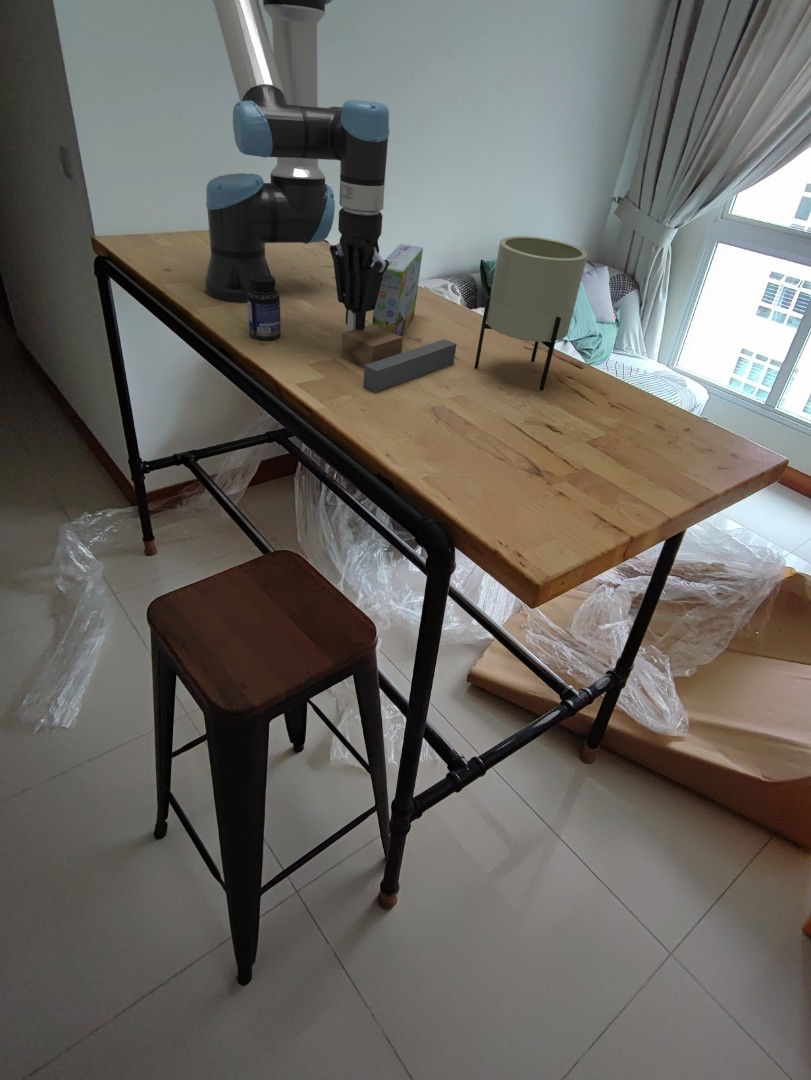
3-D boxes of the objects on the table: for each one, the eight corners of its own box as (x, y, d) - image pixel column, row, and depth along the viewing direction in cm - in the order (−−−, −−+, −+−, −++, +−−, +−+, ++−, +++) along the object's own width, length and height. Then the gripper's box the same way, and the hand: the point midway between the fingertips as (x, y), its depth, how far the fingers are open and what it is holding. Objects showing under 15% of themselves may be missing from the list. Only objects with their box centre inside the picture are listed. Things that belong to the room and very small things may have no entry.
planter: (508, 395, 117) (537, 262, 103) (463, 361, 127) (483, 236, 113) (573, 386, 123) (608, 259, 109) (525, 354, 134) (551, 235, 120)
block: (341, 358, 123) (342, 332, 120) (370, 349, 128) (372, 324, 125) (371, 372, 119) (373, 346, 116) (400, 362, 124) (402, 337, 121)
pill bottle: (286, 334, 129) (286, 277, 122) (269, 343, 125) (267, 285, 118) (261, 327, 131) (258, 271, 124) (242, 336, 126) (239, 277, 120)
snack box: (396, 349, 129) (403, 270, 120) (369, 344, 130) (374, 266, 120) (416, 316, 146) (424, 245, 137) (392, 312, 146) (398, 241, 137)
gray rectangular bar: (363, 386, 113) (364, 365, 111) (441, 358, 127) (444, 338, 125) (375, 392, 112) (377, 371, 109) (453, 363, 126) (456, 343, 123)
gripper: (319, 203, 111) (317, 337, 125) (372, 220, 105) (364, 359, 119) (350, 200, 116) (345, 329, 130) (403, 216, 109) (391, 350, 124)
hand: (354, 343), depth 125 cm, fingers closed
